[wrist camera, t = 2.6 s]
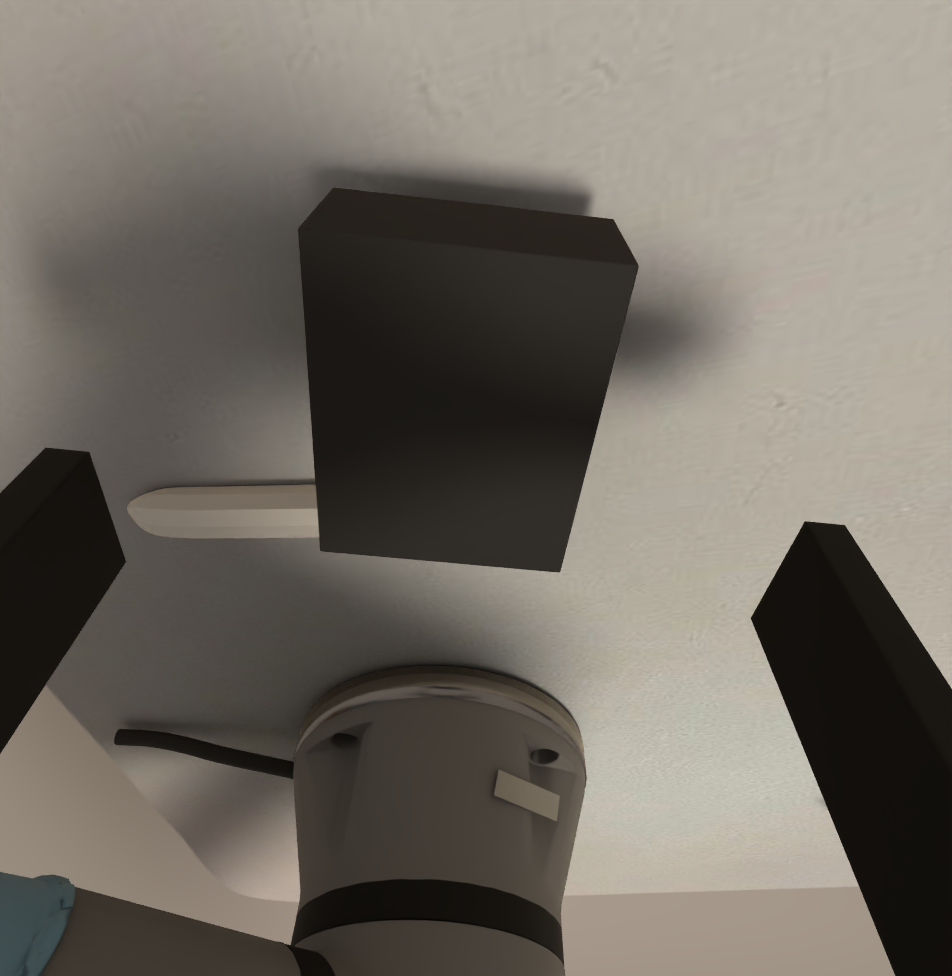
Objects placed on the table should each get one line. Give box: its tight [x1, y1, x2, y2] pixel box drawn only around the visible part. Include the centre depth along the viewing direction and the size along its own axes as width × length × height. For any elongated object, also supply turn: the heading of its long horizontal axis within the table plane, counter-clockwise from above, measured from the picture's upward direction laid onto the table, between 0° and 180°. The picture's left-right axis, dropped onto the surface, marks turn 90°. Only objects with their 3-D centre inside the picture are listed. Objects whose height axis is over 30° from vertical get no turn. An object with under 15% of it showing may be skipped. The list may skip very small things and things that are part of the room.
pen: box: [127, 484, 319, 539], centre depth 23 cm, size 2×14×2 cm, turn 92°
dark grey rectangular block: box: [298, 188, 639, 572], centre depth 18 cm, size 9×7×6 cm
